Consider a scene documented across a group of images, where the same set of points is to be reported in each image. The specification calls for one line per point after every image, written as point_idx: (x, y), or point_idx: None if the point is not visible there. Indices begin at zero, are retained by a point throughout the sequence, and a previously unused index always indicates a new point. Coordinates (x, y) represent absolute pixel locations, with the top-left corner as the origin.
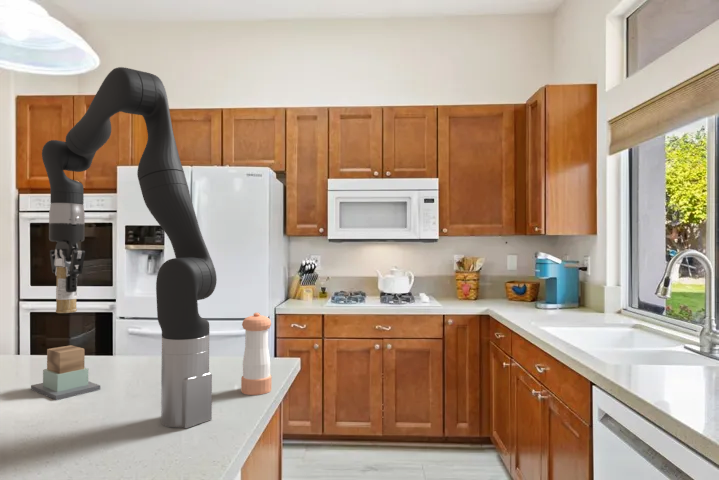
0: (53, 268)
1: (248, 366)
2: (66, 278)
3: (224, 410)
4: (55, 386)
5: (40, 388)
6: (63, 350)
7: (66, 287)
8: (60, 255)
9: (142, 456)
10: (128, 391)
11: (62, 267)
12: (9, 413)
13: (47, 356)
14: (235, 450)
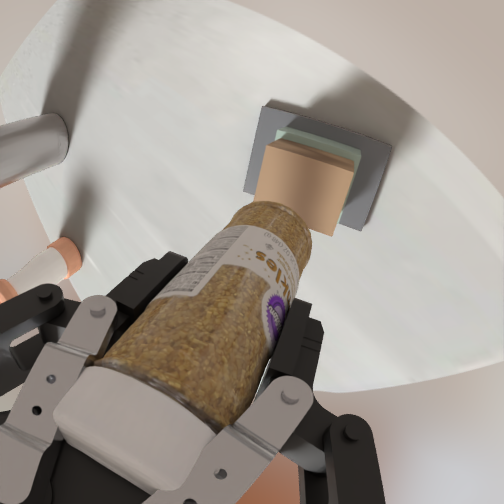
0: (342, 449)
1: (40, 254)
2: (131, 298)
3: (47, 181)
4: (293, 129)
5: (347, 133)
6: (287, 172)
7: (164, 263)
8: (32, 448)
9: (32, 59)
10: (189, 197)
11: (103, 360)
12: (271, 23)
13: (351, 166)
14: (3, 113)
